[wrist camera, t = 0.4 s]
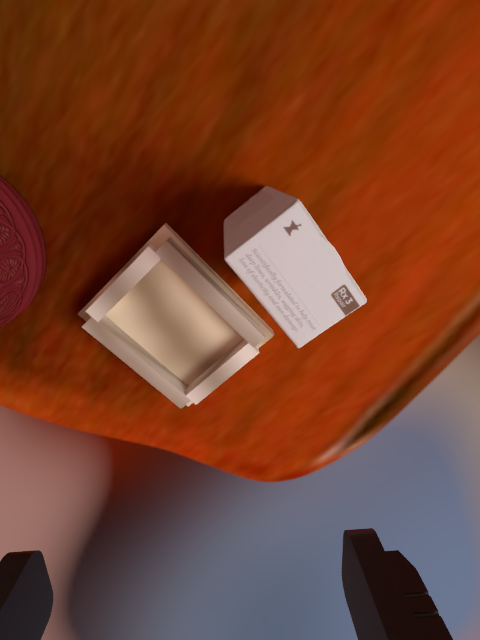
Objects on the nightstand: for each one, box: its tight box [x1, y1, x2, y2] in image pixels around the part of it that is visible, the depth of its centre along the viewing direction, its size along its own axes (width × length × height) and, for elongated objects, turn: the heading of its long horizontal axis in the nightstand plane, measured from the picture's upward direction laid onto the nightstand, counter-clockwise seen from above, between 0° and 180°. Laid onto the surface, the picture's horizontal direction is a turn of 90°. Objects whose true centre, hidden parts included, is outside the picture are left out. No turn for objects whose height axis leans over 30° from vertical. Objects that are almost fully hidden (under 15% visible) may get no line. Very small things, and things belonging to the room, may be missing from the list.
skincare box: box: [224, 186, 367, 348], centre depth 22 cm, size 6×4×12 cm
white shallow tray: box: [78, 223, 274, 409], centre depth 29 cm, size 10×12×2 cm
